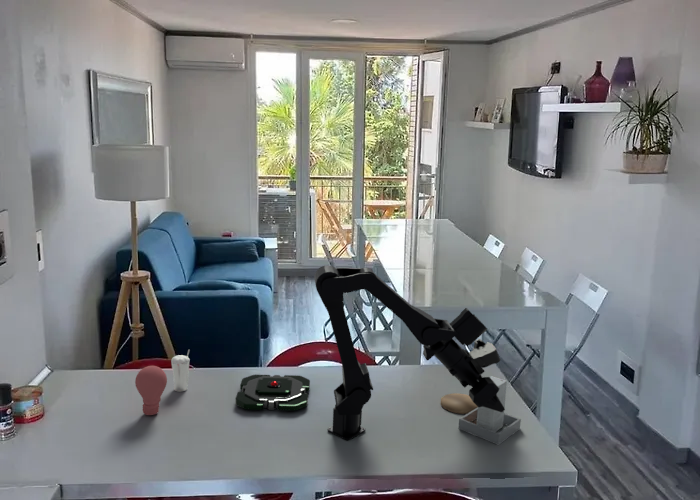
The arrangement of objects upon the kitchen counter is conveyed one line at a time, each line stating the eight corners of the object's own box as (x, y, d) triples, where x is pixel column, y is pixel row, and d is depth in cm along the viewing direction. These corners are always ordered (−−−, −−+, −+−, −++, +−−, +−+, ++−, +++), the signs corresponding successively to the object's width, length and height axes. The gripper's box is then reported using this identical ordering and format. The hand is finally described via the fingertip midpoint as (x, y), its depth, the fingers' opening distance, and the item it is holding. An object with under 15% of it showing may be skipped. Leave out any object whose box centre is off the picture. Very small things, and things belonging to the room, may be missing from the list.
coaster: (466, 418, 155) (467, 415, 154) (432, 404, 161) (433, 401, 161) (487, 405, 162) (487, 402, 162) (454, 392, 168) (454, 390, 168)
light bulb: (173, 414, 151) (172, 367, 148) (146, 424, 146) (144, 375, 143) (157, 404, 155) (156, 358, 153) (130, 413, 150) (129, 366, 148)
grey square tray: (498, 444, 142) (499, 434, 142) (458, 428, 149) (459, 418, 149) (519, 428, 150) (520, 419, 150) (481, 413, 157) (481, 404, 156)
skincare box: (487, 421, 153) (491, 375, 151) (503, 427, 151) (507, 380, 148) (474, 430, 149) (479, 383, 146) (491, 436, 146) (495, 388, 144)
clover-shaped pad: (310, 384, 171) (310, 368, 170) (307, 415, 154) (308, 398, 153) (243, 382, 171) (243, 366, 170) (233, 413, 153) (233, 396, 152)
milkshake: (196, 387, 166) (195, 351, 163) (180, 394, 161) (179, 357, 159) (183, 382, 168) (183, 347, 166) (168, 389, 163) (167, 353, 161)
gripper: (493, 349, 135) (538, 396, 139) (468, 320, 153) (507, 363, 157) (455, 384, 136) (500, 429, 140) (434, 351, 154) (474, 392, 158)
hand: (496, 401), depth 148 cm, fingers open, 9 cm apart
